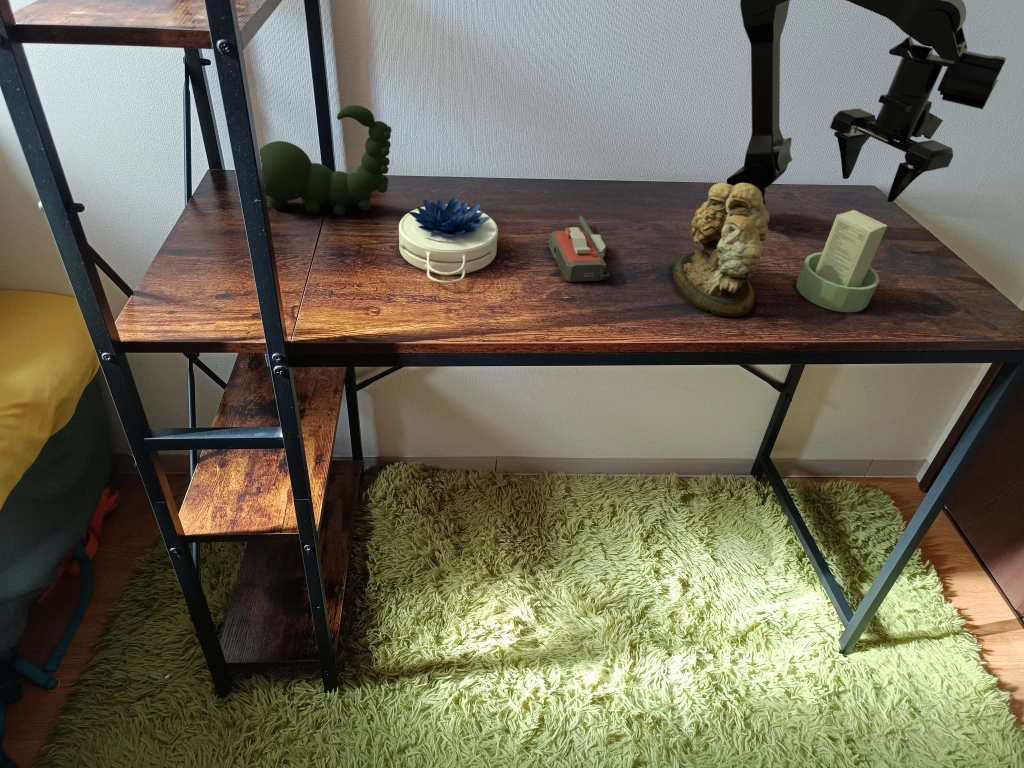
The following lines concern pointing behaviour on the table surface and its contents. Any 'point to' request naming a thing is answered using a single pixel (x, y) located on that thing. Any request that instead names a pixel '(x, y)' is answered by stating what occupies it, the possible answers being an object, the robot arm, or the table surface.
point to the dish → (834, 288)
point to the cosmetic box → (850, 249)
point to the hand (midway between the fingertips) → (867, 189)
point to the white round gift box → (448, 238)
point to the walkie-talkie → (579, 253)
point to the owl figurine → (724, 250)
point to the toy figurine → (327, 171)
